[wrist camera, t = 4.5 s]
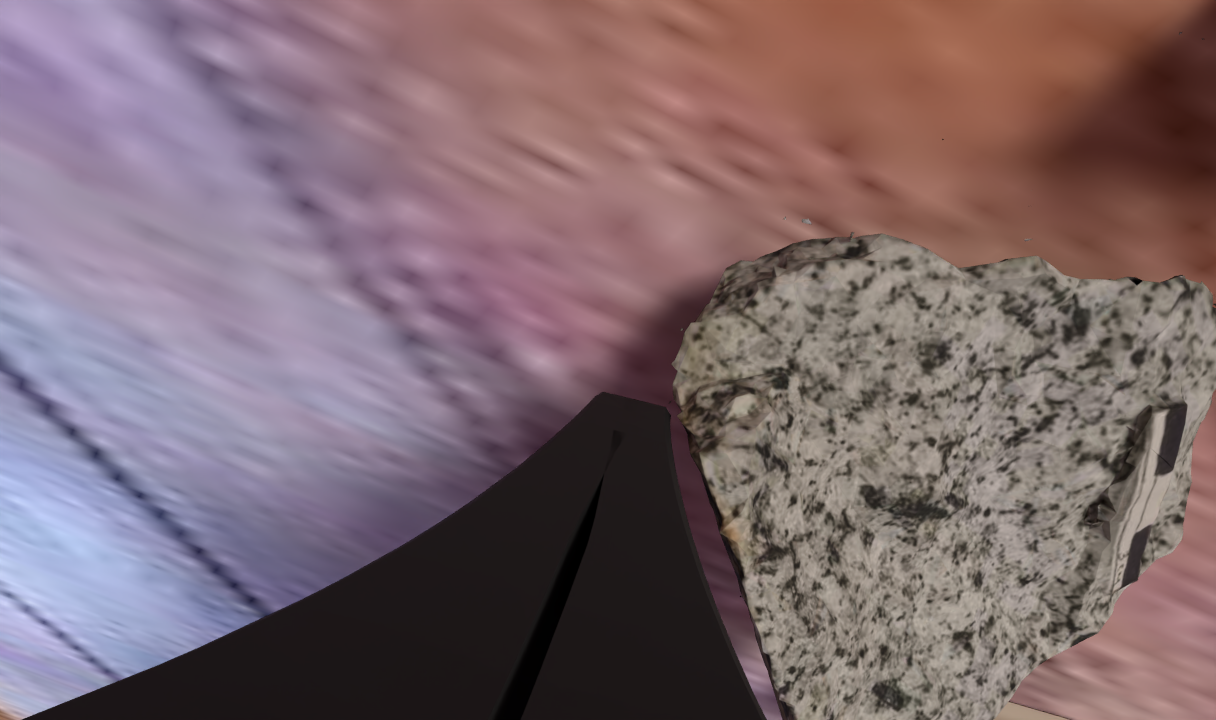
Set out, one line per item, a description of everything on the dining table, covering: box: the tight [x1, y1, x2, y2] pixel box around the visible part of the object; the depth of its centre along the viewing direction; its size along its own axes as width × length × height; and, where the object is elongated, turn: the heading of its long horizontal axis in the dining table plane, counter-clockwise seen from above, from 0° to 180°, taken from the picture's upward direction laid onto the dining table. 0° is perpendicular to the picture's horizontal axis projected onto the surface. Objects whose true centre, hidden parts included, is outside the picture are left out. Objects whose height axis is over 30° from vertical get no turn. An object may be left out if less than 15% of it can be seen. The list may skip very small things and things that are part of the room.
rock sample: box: [669, 32, 1216, 720], centre depth 9 cm, size 10×8×9 cm
